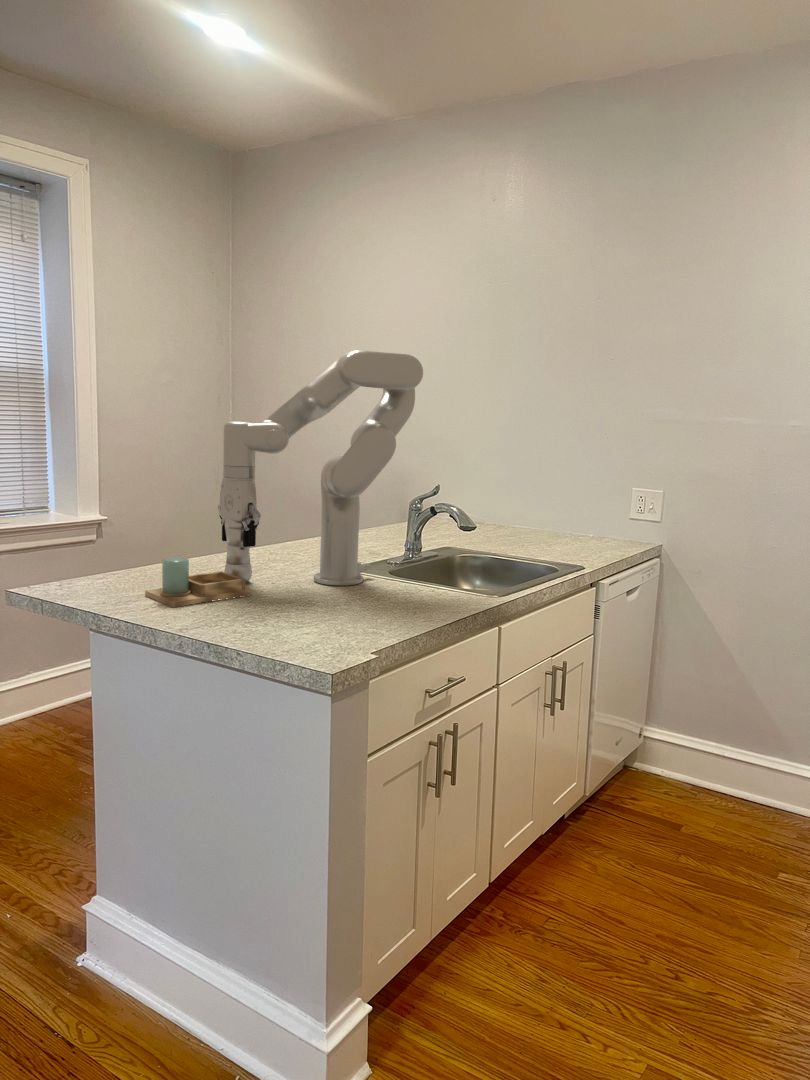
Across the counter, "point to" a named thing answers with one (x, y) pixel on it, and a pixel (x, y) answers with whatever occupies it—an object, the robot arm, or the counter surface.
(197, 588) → the oak caddy
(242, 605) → the counter surface
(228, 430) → the robot arm
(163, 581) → the sage pillar candle
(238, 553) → the plastic bottle
